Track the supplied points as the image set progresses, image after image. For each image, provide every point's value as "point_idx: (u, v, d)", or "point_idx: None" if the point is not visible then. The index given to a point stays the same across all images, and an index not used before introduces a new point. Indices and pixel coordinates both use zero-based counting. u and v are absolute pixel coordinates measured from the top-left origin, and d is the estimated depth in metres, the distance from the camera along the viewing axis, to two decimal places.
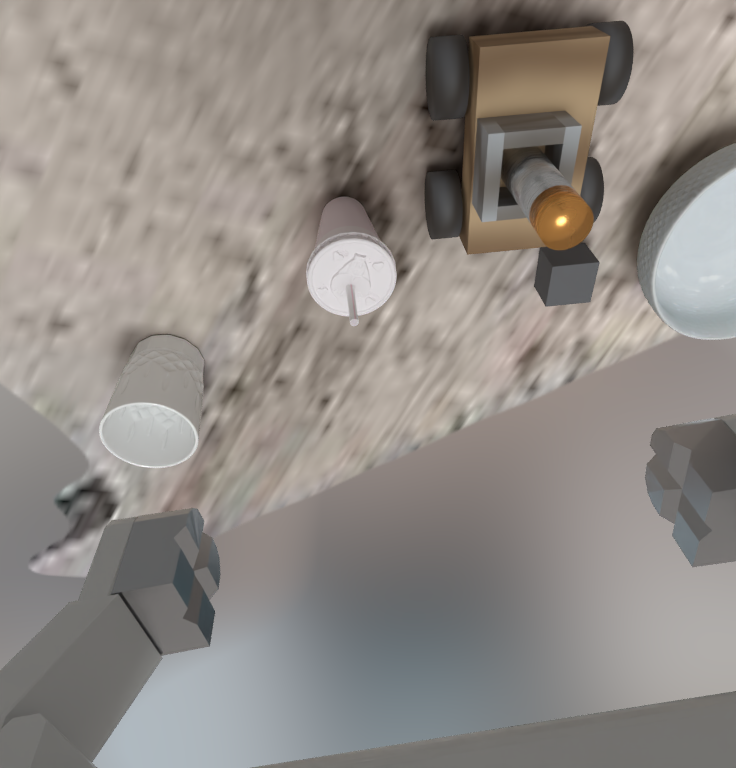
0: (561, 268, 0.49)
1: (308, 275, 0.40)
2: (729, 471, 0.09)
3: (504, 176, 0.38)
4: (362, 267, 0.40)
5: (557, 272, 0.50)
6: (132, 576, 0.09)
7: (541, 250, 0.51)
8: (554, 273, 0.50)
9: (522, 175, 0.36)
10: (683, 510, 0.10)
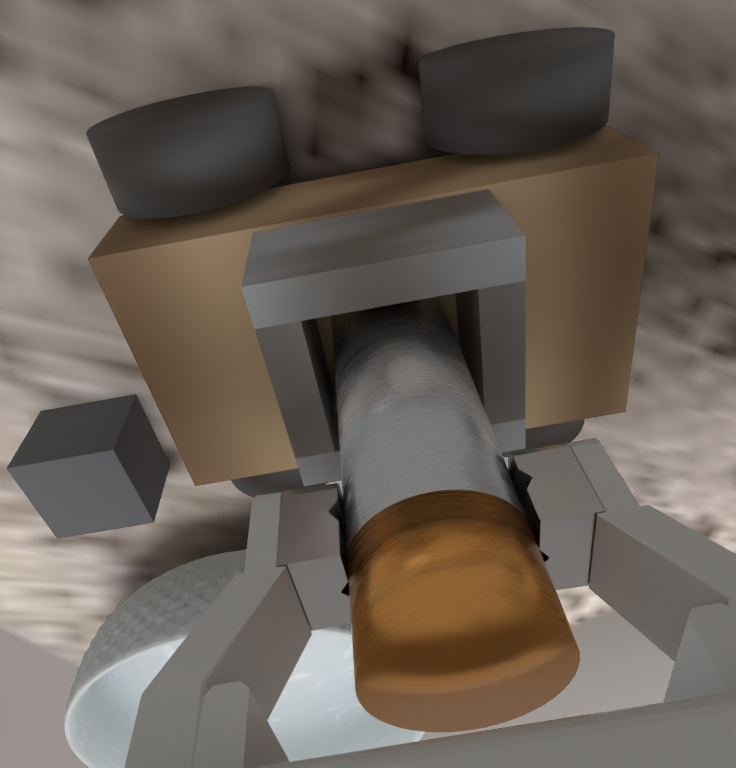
0: (114, 466, 0.22)
1: None
2: (561, 499, 0.09)
3: (386, 311, 0.13)
4: None
5: (102, 462, 0.22)
6: (295, 548, 0.09)
7: (131, 400, 0.24)
8: (98, 458, 0.21)
9: (457, 380, 0.11)
10: None
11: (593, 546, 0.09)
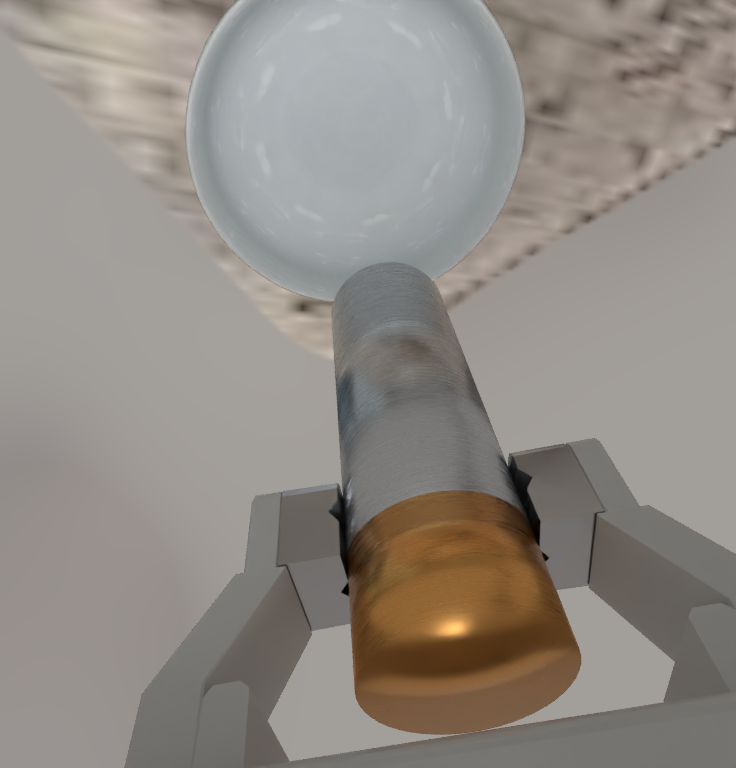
0: None
1: None
2: (561, 499, 0.09)
3: (387, 311, 0.13)
4: None
5: None
6: (295, 549, 0.09)
7: None
8: None
9: (458, 380, 0.11)
10: None
11: (593, 545, 0.09)
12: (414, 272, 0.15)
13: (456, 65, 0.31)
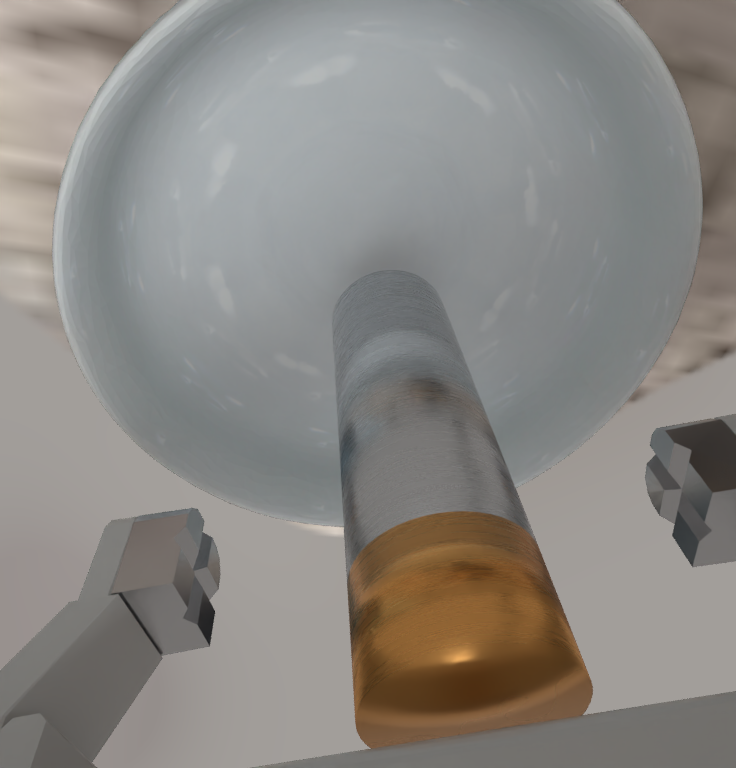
0: None
1: None
2: (729, 471, 0.09)
3: (388, 320, 0.13)
4: None
5: None
6: (131, 577, 0.09)
7: None
8: None
9: (462, 393, 0.11)
10: (683, 510, 0.10)
11: None
12: (416, 281, 0.14)
13: (553, 143, 0.18)
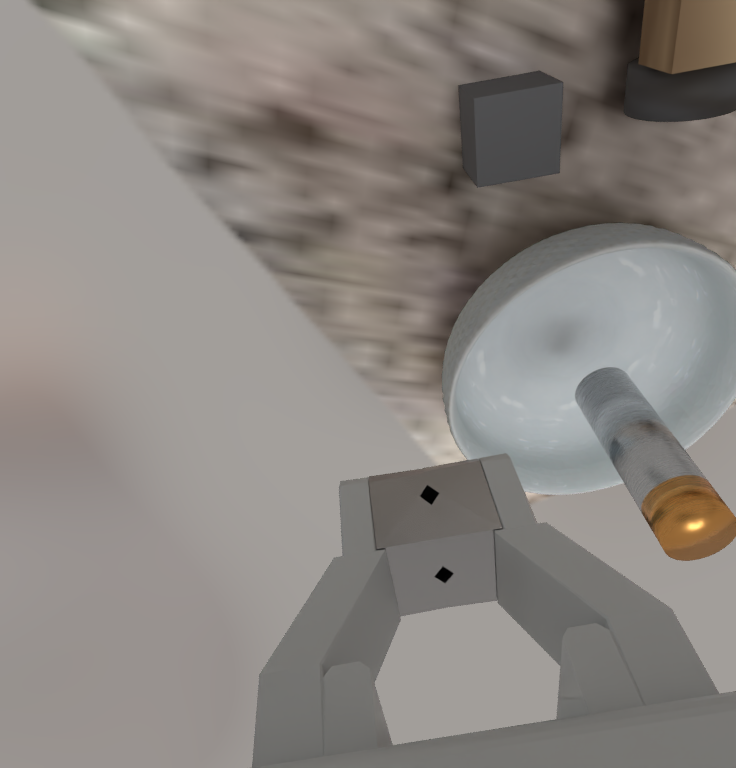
0: (556, 102, 0.26)
1: None
2: (462, 516, 0.09)
3: (623, 396, 0.29)
4: None
5: (549, 97, 0.26)
6: (392, 533, 0.09)
7: (539, 72, 0.28)
8: (547, 91, 0.26)
9: (668, 431, 0.27)
10: None
11: (496, 561, 0.09)
12: (623, 373, 0.31)
13: (675, 291, 0.34)
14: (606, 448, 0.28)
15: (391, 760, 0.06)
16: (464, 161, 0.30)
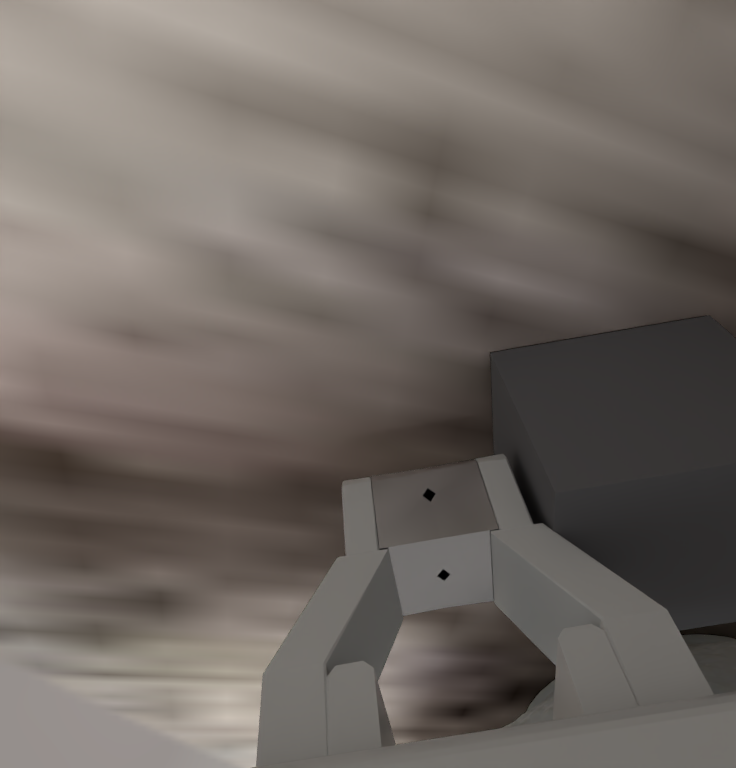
0: None
1: None
2: (459, 516, 0.09)
3: None
4: None
5: None
6: (395, 532, 0.09)
7: (719, 331, 0.10)
8: None
9: None
10: None
11: (492, 563, 0.09)
12: None
13: None
14: None
15: (391, 760, 0.06)
16: None
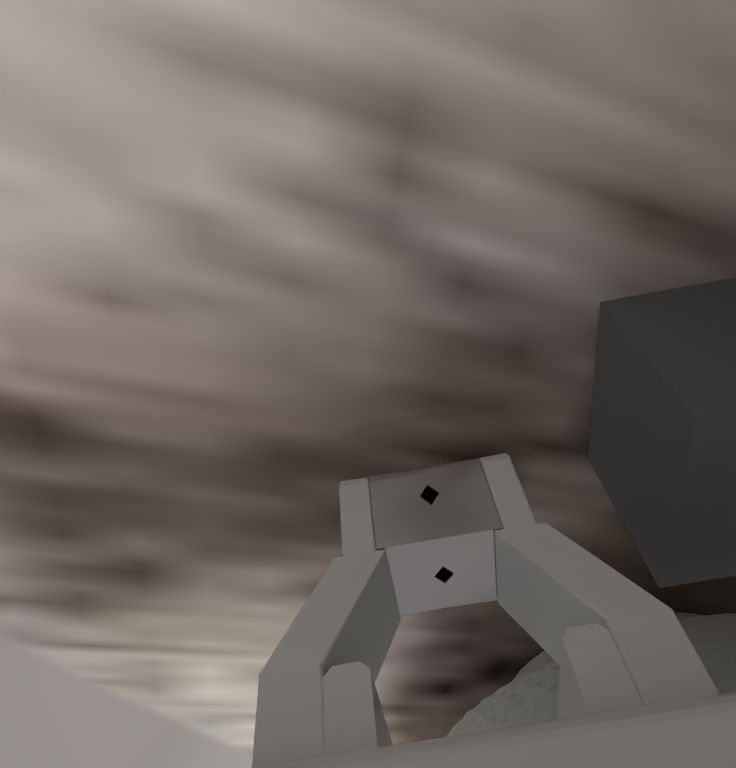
0: None
1: None
2: (462, 516, 0.09)
3: None
4: None
5: None
6: (392, 533, 0.09)
7: None
8: None
9: None
10: None
11: (496, 562, 0.09)
12: None
13: None
14: None
15: (391, 760, 0.06)
16: (597, 458, 0.12)
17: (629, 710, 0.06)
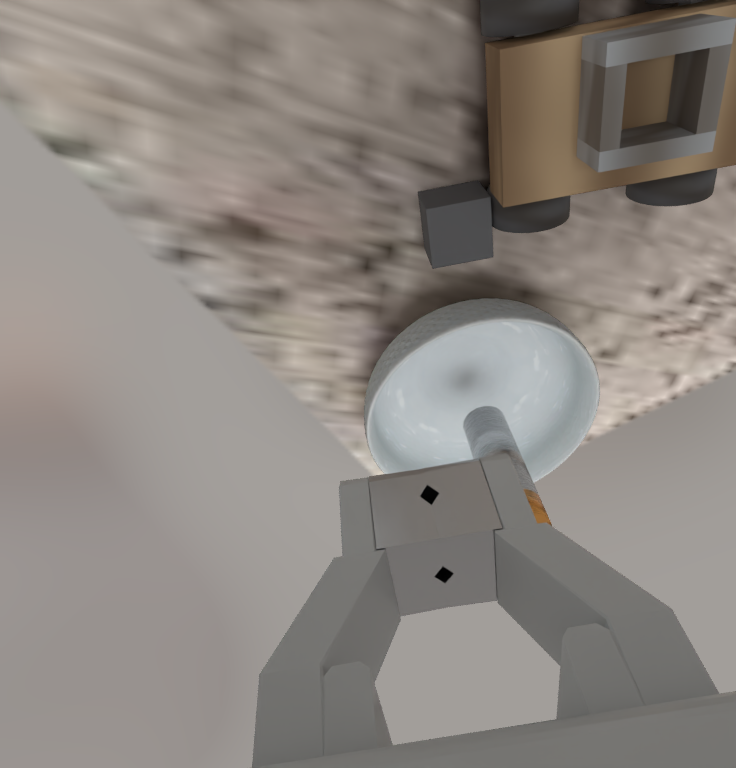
0: (486, 210, 0.36)
1: None
2: (462, 516, 0.09)
3: (491, 429, 0.39)
4: None
5: (480, 207, 0.36)
6: (392, 532, 0.09)
7: (477, 182, 0.38)
8: (479, 203, 0.36)
9: (517, 456, 0.37)
10: None
11: (496, 561, 0.09)
12: (496, 410, 0.41)
13: (545, 344, 0.44)
14: None
15: (391, 760, 0.06)
16: (425, 244, 0.40)
17: (629, 710, 0.06)
